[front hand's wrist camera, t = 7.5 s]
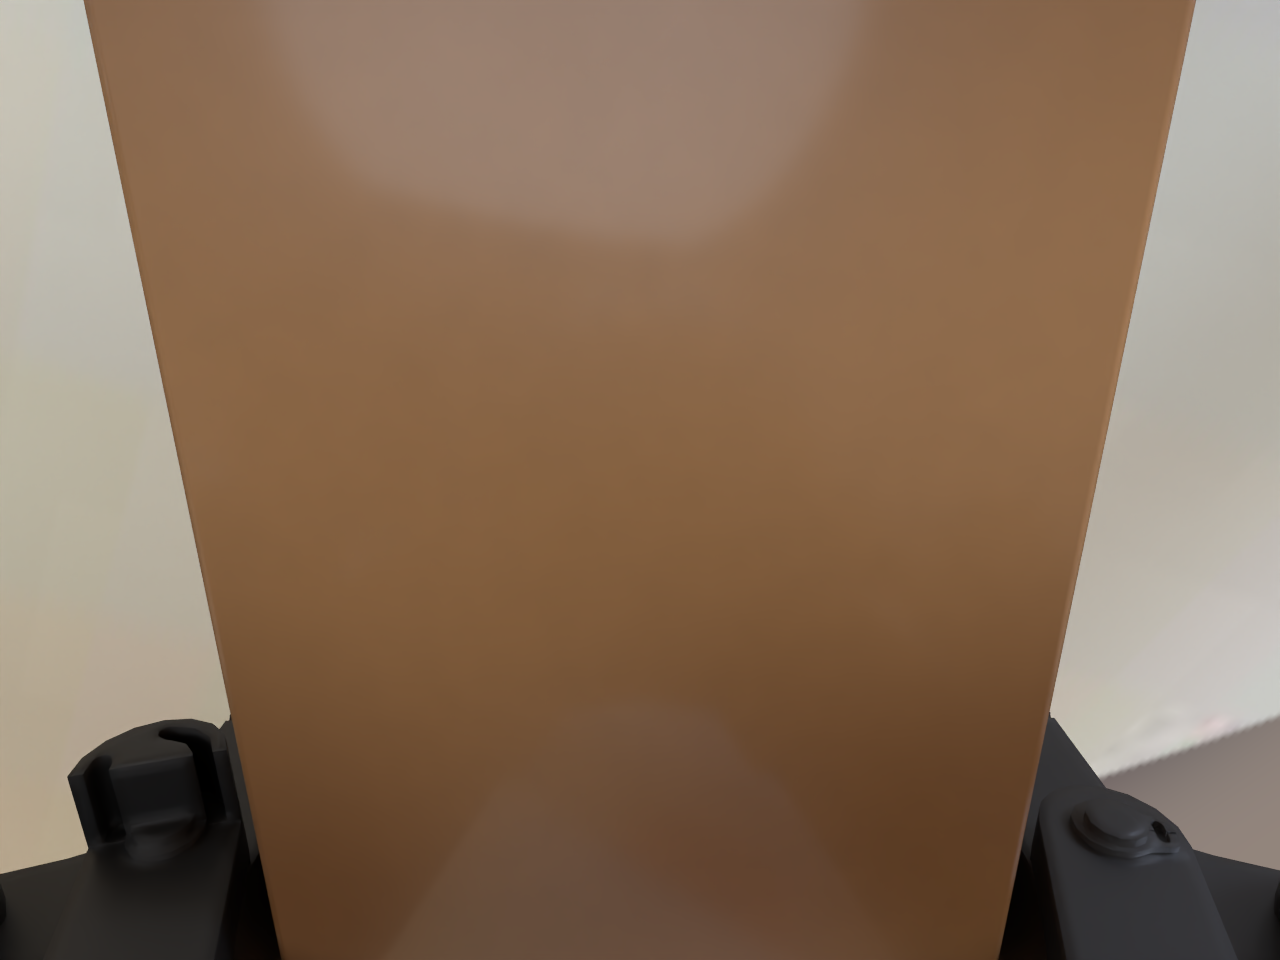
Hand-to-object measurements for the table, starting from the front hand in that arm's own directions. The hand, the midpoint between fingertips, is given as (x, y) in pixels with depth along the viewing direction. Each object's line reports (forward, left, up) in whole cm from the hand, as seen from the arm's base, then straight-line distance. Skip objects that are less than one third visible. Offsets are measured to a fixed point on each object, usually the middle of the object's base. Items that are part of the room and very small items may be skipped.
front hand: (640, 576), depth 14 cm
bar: (+8, +5, -1) cm, 9 cm away
